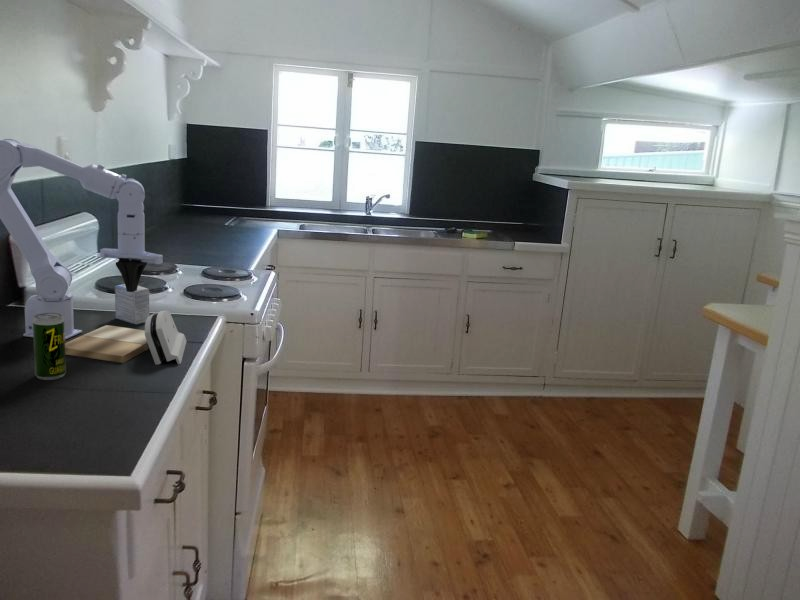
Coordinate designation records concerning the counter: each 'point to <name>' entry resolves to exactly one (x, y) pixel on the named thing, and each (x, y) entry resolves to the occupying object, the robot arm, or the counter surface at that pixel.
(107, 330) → the floor board
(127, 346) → the plank
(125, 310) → the grey wood grain block
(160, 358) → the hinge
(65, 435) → the counter surface
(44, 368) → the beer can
